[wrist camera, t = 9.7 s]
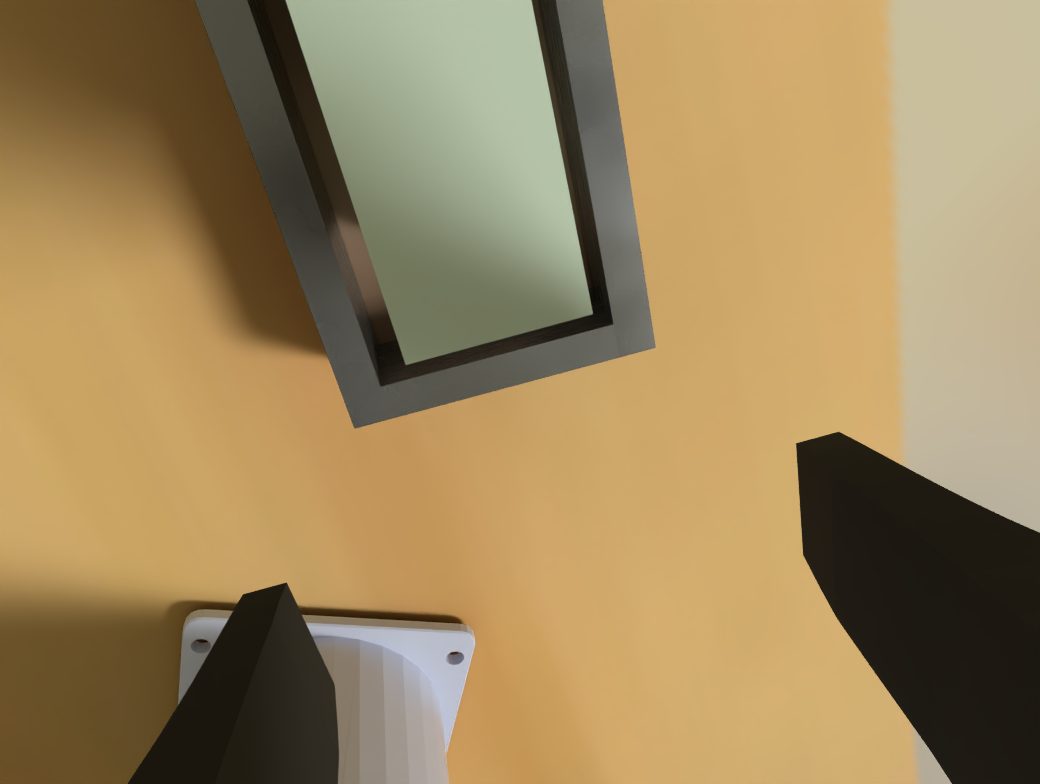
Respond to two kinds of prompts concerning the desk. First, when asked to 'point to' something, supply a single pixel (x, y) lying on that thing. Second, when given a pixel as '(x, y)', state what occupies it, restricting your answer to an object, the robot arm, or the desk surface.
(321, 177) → the grey rectangular tray
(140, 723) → the desk surface
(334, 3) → the pale green rectangular block
